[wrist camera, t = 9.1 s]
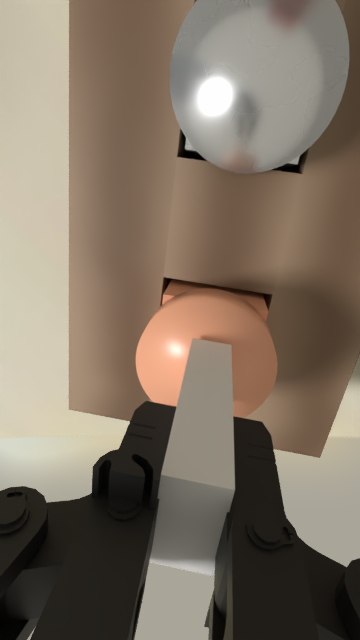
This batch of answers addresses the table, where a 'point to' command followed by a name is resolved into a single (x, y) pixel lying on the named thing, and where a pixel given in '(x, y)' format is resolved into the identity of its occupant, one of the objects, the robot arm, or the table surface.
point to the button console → (203, 225)
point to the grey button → (257, 80)
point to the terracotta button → (212, 325)
